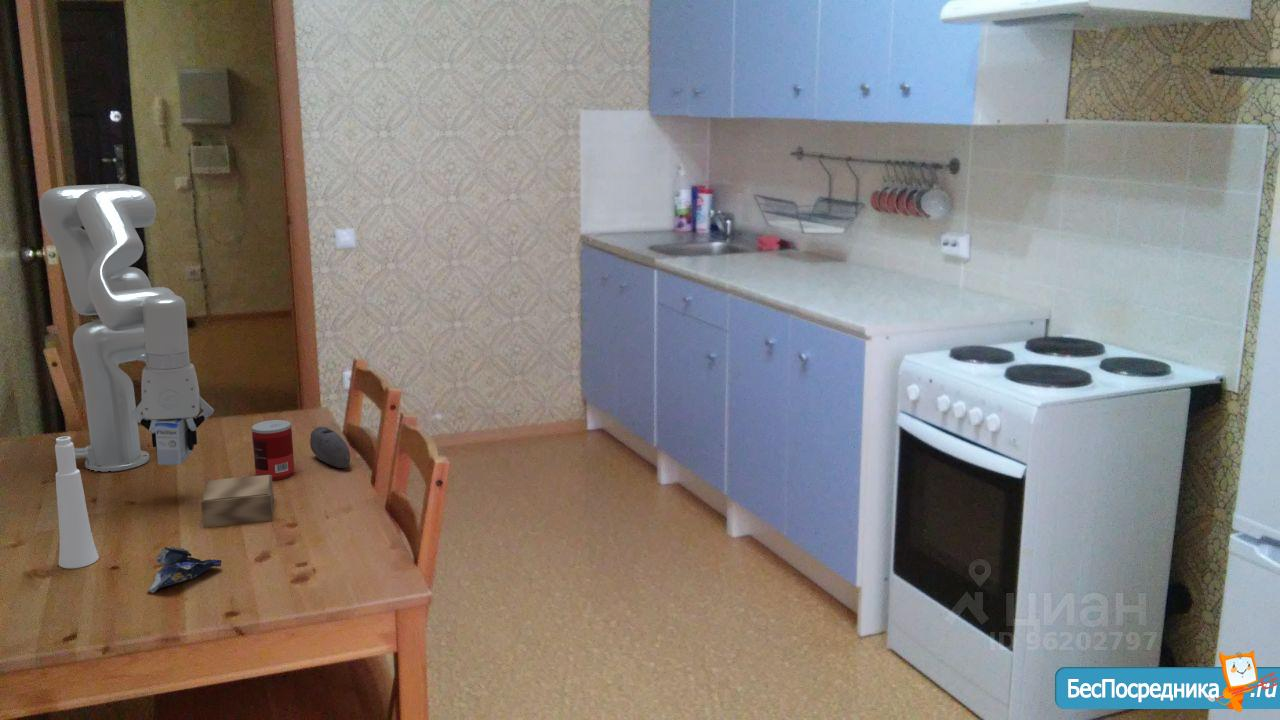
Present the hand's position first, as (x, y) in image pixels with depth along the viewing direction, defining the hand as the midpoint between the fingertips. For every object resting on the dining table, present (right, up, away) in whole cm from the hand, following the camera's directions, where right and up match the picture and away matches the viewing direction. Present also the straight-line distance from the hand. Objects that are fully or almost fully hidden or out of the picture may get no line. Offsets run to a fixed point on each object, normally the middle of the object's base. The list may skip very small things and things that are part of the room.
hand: (175, 448), depth 207 cm
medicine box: (0, -2, +1) cm, 2 cm away
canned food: (+14, -7, +17) cm, 23 cm away
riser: (+14, -12, -4) cm, 19 cm away
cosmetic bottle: (-5, -17, -27) cm, 32 cm away
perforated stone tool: (+24, -6, +24) cm, 35 cm away
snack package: (+15, -19, -32) cm, 41 cm away
